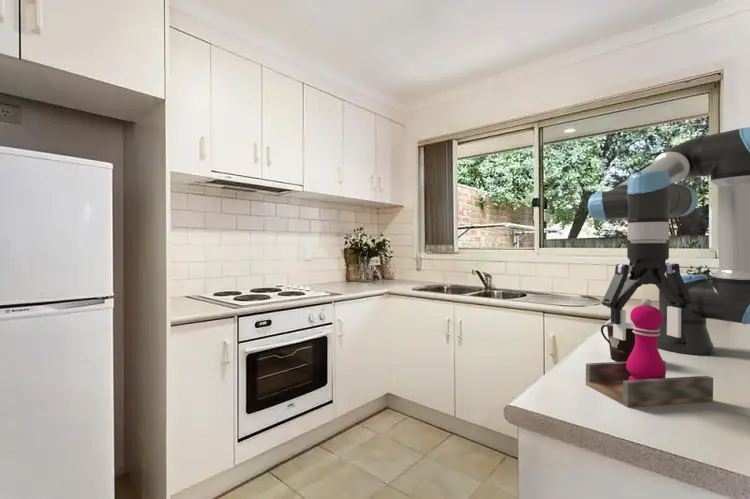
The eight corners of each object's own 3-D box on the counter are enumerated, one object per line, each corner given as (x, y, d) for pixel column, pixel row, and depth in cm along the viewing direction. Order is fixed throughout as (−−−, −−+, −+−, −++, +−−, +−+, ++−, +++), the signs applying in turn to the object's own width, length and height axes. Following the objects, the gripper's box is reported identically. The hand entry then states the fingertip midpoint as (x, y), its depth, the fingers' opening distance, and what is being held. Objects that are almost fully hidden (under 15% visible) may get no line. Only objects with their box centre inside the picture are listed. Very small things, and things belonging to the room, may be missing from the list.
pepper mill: (630, 379, 90) (631, 295, 89) (668, 388, 85) (669, 298, 84) (622, 388, 85) (623, 298, 84) (662, 397, 80) (664, 302, 79)
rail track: (660, 380, 92) (661, 359, 92) (712, 401, 80) (713, 377, 80) (585, 384, 90) (585, 363, 89) (627, 407, 77) (627, 382, 77)
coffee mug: (648, 365, 103) (649, 329, 103) (613, 363, 105) (614, 327, 104) (629, 353, 114) (629, 320, 114) (597, 351, 116) (598, 319, 116)
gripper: (681, 241, 90) (680, 331, 90) (584, 242, 86) (584, 335, 87) (713, 241, 82) (712, 339, 83) (609, 242, 79) (608, 344, 79)
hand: (646, 337), depth 85 cm, fingers open, 13 cm apart
